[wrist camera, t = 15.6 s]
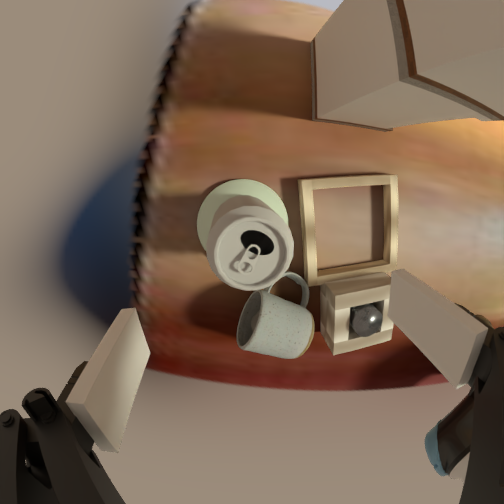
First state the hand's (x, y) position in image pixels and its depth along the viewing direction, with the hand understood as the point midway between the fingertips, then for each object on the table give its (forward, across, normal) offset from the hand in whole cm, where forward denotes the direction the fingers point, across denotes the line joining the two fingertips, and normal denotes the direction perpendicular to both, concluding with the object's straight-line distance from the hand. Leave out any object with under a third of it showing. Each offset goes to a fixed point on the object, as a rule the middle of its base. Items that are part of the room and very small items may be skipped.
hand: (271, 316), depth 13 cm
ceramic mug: (+23, -3, +11) cm, 25 cm away
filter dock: (+22, -14, +6) cm, 27 cm away
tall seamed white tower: (+22, -16, -17) cm, 32 cm away
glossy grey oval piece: (+20, -14, +13) cm, 28 cm away
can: (+22, 0, 0) cm, 22 cm away
